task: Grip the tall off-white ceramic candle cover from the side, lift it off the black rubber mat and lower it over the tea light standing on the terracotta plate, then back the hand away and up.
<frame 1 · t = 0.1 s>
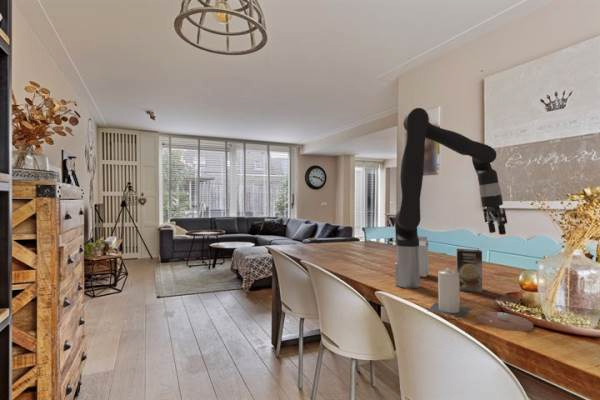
hand: (497, 233, 131), 22 cm above the table, tool pointing down, fingers open, 8 cm apart
tea light plate: (503, 322, 92), on the table
cover mat: (449, 311, 103), on the table
coffee box: (469, 290, 129), on the table
milk carton: (419, 275, 156), on the table
candle cover: (449, 309, 103), resting on cover mat
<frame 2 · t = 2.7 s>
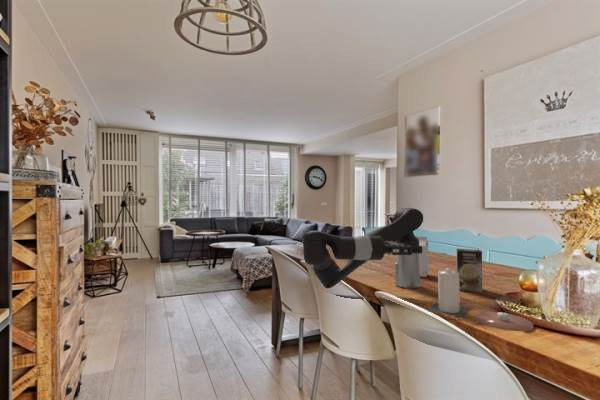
hand: (414, 247, 101), 21 cm above the table, tool horizontal, fingers open, 8 cm apart
nothing on the table moved.
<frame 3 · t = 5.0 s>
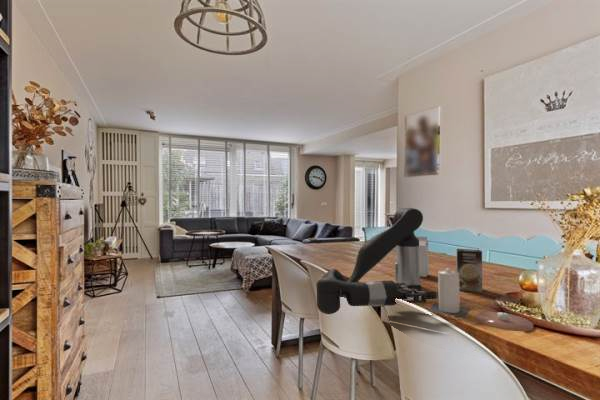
hand: (427, 291, 101), 7 cm above the table, tool horizontal, fingers open, 8 cm apart
nothing on the table moved.
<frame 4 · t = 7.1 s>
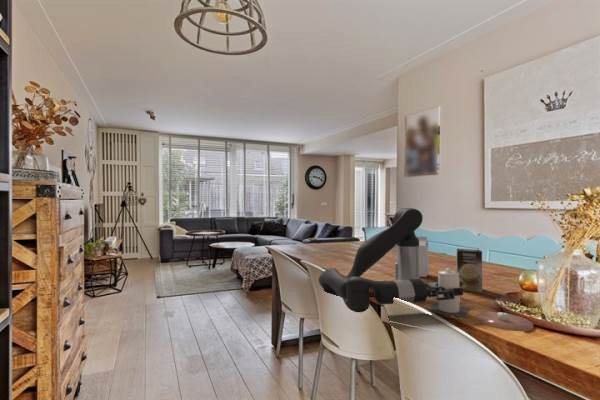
hand: (455, 288, 103), 7 cm above the table, tool horizontal, fingers closed on candle cover, 6 cm apart
candle cover: (449, 309, 103), point 1 cm above the table, touching cover mat, gripper
everything else where it was.
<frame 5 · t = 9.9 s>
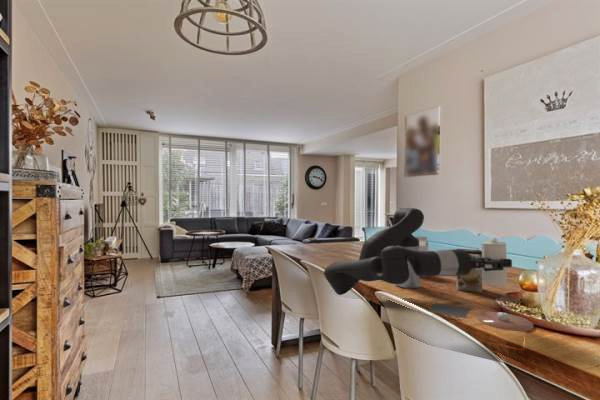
hand: (501, 260, 93), 18 cm above the table, tool horizontal, fingers closed on candle cover, 6 cm apart
candle cover: (494, 283, 93), point 11 cm above the table, touching gripper
everything else where it was.
when the fingers open (9 cm above the table, at t = 12.8 s): candle cover drops 1 cm, resting on tea light plate.
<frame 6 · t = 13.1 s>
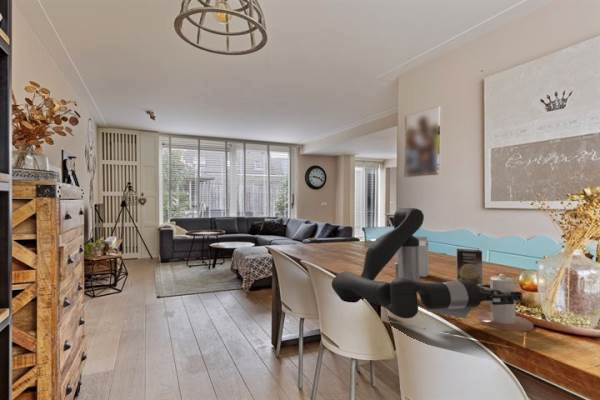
hand: (508, 291, 93), 9 cm above the table, tool horizontal, fingers open, 8 cm apart
candle cover: (503, 319, 92), point 1 cm above the table, touching tea light plate
everything else where it was.
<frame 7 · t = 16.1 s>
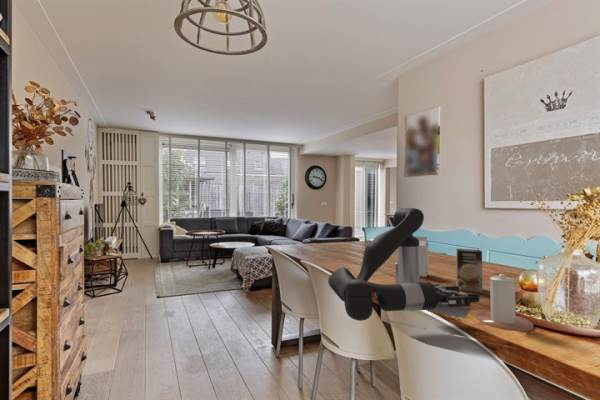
hand: (468, 293, 91), 9 cm above the table, tool horizontal, fingers open, 8 cm apart
nothing on the table moved.
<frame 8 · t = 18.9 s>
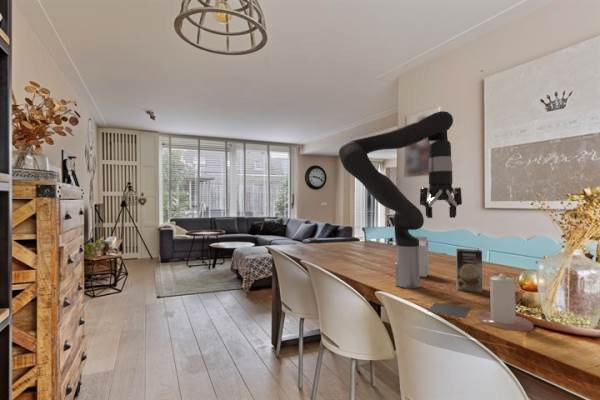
hand: (441, 217, 109), 30 cm above the table, tool pointing down, fingers open, 8 cm apart
nothing on the table moved.
at the end: candle cover 0.1 cm off-centre on the tea light plate, point 0.8 cm above the tea light plate's base; candle cover tilted 0°; the gripper is holding nothing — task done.
